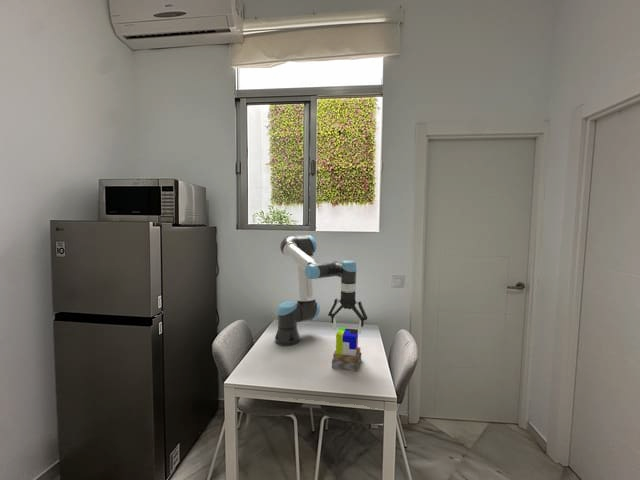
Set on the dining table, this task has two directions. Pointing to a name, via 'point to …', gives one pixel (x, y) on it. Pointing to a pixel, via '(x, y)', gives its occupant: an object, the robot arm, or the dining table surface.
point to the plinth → (346, 365)
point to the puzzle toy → (347, 341)
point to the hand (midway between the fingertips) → (347, 330)
